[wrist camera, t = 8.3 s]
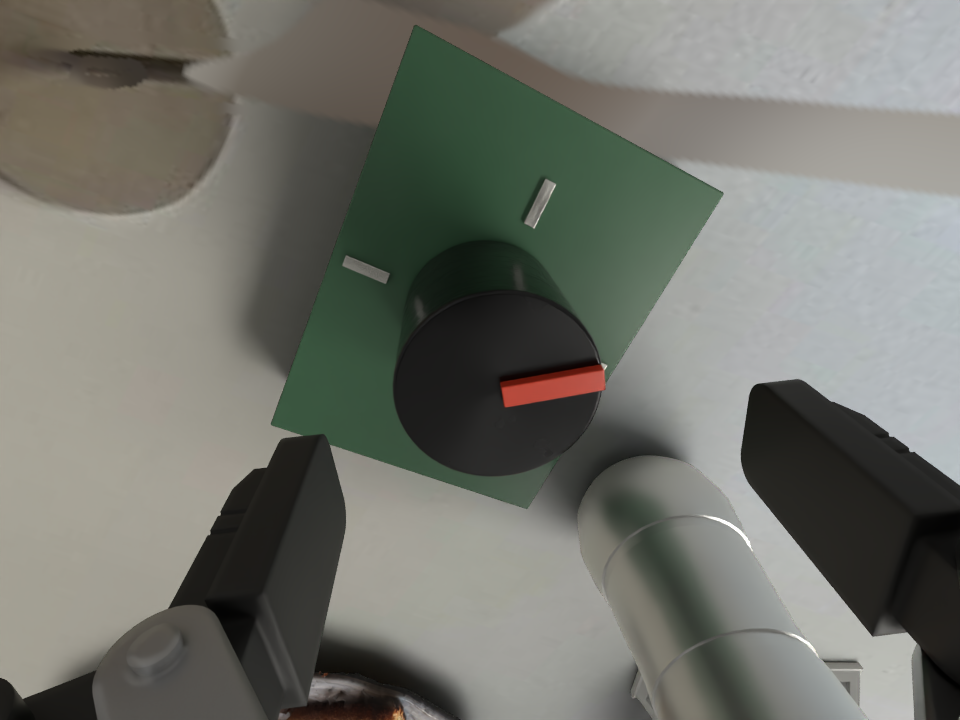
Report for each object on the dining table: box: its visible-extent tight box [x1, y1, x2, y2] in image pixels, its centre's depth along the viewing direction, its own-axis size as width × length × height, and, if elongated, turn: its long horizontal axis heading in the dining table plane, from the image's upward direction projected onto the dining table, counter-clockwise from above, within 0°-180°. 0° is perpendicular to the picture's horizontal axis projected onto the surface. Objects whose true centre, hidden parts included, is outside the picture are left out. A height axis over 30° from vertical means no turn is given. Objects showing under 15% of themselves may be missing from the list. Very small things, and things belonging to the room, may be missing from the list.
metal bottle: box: [577, 455, 869, 720], centre depth 16 cm, size 6×7×20 cm
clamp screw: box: [392, 240, 605, 477], centre depth 15 cm, size 5×5×5 cm
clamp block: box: [271, 25, 723, 509], centre depth 18 cm, size 13×10×3 cm
